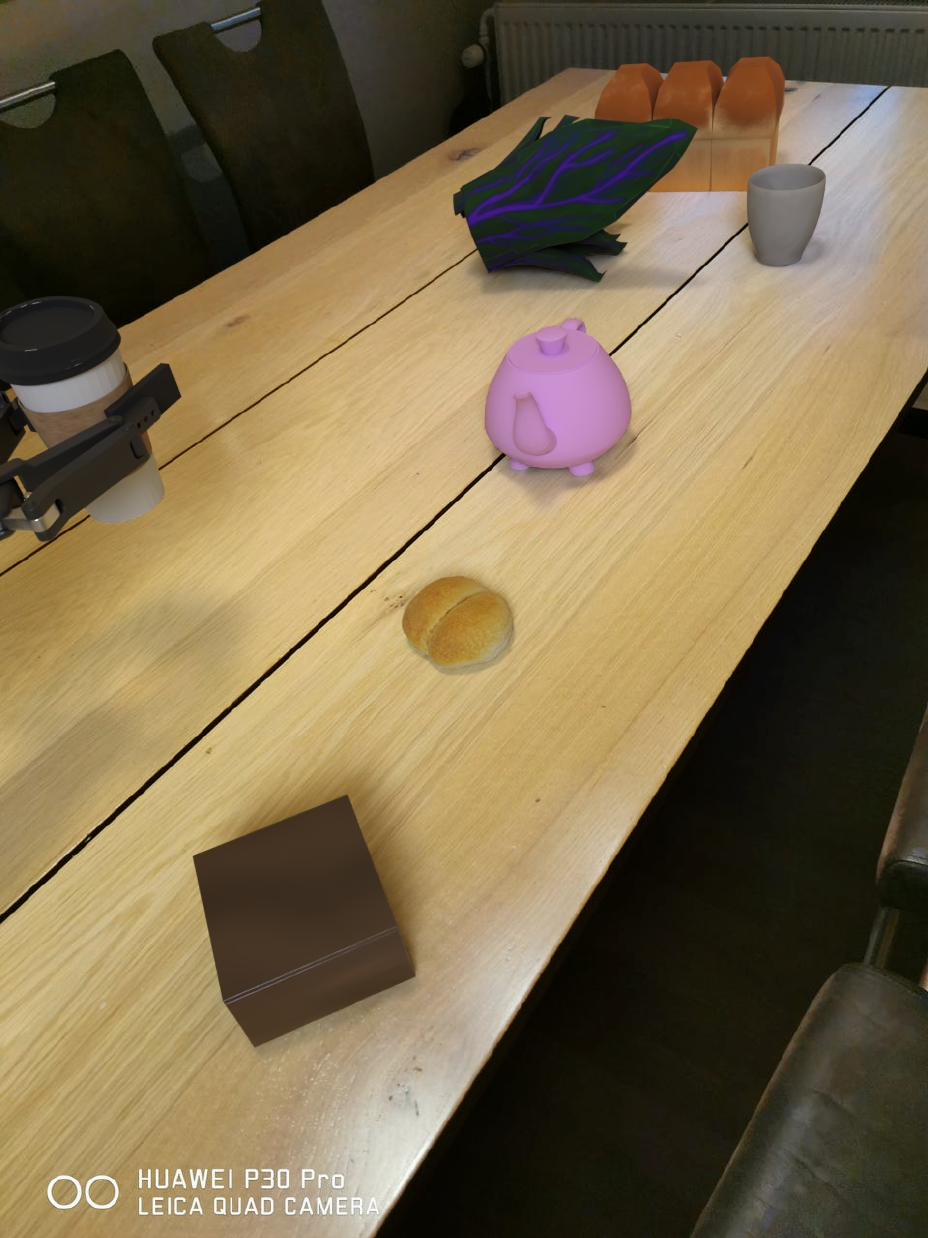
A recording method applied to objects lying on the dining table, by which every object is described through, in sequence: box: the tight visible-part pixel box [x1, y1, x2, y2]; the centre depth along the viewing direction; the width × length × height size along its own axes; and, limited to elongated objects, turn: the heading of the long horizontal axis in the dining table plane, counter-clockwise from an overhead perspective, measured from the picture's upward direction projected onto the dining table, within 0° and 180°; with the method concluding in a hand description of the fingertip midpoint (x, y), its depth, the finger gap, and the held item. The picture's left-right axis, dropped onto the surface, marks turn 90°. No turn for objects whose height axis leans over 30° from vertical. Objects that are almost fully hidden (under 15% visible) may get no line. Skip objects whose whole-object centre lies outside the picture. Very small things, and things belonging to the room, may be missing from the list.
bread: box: [593, 56, 786, 193], centre depth 137 cm, size 25×12×15 cm, turn 71°
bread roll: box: [401, 575, 514, 670], centre depth 76 cm, size 8×9×4 cm
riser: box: [192, 793, 416, 1048], centre depth 57 cm, size 10×10×6 cm
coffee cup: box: [0, 295, 165, 525], centre depth 68 cm, size 8×8×15 cm
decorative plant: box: [452, 114, 698, 283], centre depth 118 cm, size 21×26×30 cm
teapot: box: [483, 317, 633, 477], centre depth 90 cm, size 20×14×12 cm
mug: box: [746, 163, 827, 267], centre depth 117 cm, size 12×9×10 cm
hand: (126, 375), depth 71 cm, fingers closed on coffee cup, 8 cm apart
